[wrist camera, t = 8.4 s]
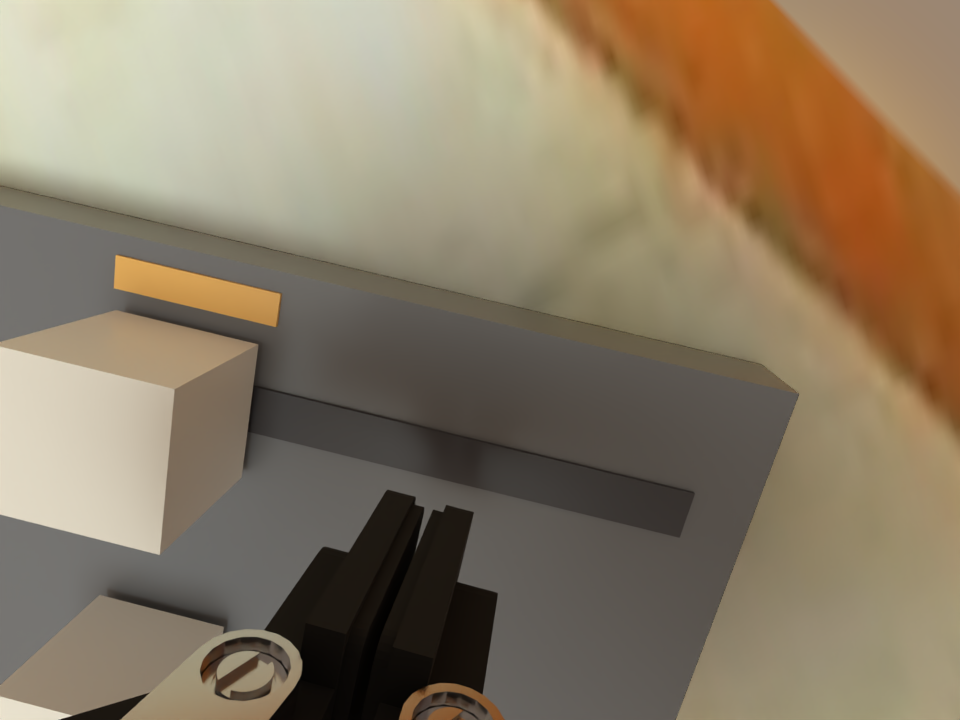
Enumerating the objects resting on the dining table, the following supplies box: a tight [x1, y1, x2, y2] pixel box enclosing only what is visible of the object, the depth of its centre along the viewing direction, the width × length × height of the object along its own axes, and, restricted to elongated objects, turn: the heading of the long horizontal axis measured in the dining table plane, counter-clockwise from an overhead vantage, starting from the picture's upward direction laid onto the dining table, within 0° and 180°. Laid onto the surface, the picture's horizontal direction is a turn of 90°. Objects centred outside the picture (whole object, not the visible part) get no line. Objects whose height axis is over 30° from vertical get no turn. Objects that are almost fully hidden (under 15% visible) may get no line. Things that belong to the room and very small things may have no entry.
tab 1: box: [0, 310, 258, 555], centre depth 14 cm, size 4×4×4 cm
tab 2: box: [0, 595, 224, 720], centre depth 16 cm, size 4×4×4 cm
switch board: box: [0, 186, 799, 720], centre depth 18 cm, size 22×15×3 cm
